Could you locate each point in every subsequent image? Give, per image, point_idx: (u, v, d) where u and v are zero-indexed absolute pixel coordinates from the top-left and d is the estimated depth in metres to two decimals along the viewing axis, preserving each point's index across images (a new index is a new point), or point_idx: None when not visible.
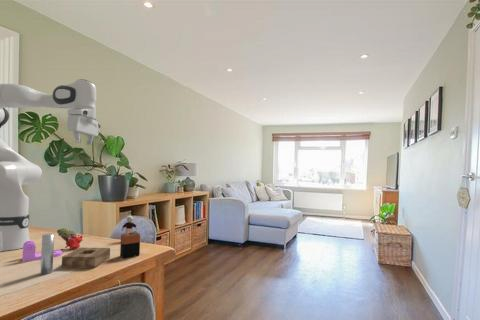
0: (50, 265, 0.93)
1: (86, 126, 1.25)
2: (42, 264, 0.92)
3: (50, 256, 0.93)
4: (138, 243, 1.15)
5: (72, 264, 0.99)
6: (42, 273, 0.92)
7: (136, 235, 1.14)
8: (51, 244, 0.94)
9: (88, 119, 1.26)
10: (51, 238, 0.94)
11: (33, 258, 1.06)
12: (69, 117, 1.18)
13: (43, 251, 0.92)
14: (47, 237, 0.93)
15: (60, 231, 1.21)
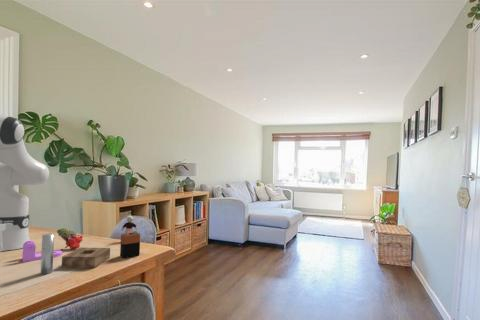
0: (50, 265, 0.93)
1: None
2: (42, 264, 0.92)
3: (50, 256, 0.93)
4: (138, 243, 1.15)
5: (72, 264, 0.99)
6: (42, 273, 0.92)
7: (136, 235, 1.14)
8: (51, 244, 0.94)
9: None
10: (51, 238, 0.94)
11: (33, 258, 1.06)
12: None
13: (43, 251, 0.92)
14: (47, 237, 0.93)
15: (60, 231, 1.21)
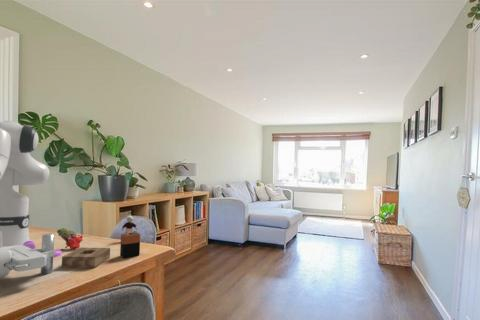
0: (50, 265, 0.93)
1: None
2: None
3: None
4: (138, 243, 1.15)
5: (72, 264, 0.99)
6: (42, 273, 0.92)
7: (136, 235, 1.14)
8: (51, 244, 0.94)
9: None
10: (51, 238, 0.94)
11: None
12: None
13: (43, 251, 0.92)
14: (47, 237, 0.93)
15: (60, 231, 1.21)
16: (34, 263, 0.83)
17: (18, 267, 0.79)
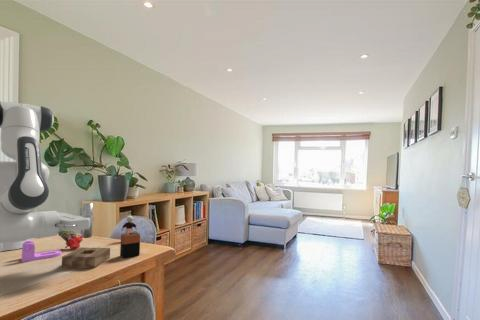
0: (90, 230, 1.05)
1: None
2: (83, 229, 1.04)
3: (90, 222, 1.05)
4: (138, 243, 1.15)
5: (72, 264, 0.99)
6: (83, 237, 1.03)
7: (136, 235, 1.14)
8: (91, 211, 1.05)
9: None
10: (91, 206, 1.05)
11: (32, 258, 1.06)
12: None
13: None
14: (88, 205, 1.04)
15: (60, 231, 1.21)
16: (80, 224, 0.94)
17: (68, 226, 0.90)
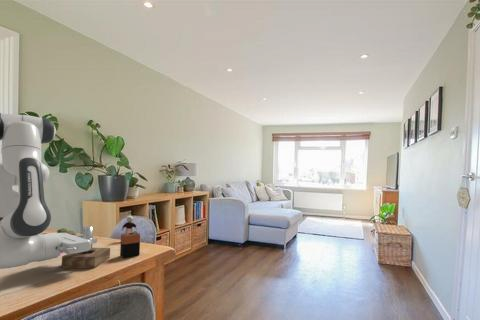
0: None
1: None
2: (83, 253, 1.04)
3: None
4: (138, 243, 1.15)
5: (72, 264, 0.99)
6: None
7: (136, 235, 1.14)
8: (91, 235, 1.05)
9: None
10: (91, 230, 1.05)
11: None
12: None
13: None
14: (87, 229, 1.04)
15: (60, 231, 1.21)
16: (81, 247, 0.94)
17: (69, 250, 0.90)
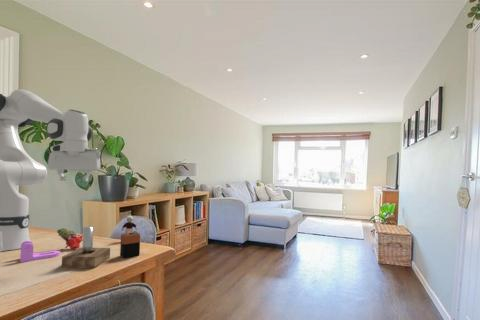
0: None
1: (67, 161, 1.13)
2: (84, 253, 1.03)
3: (90, 246, 1.05)
4: (138, 243, 1.15)
5: (72, 264, 0.99)
6: None
7: (136, 235, 1.14)
8: (91, 235, 1.05)
9: (67, 153, 1.12)
10: (91, 230, 1.05)
11: (31, 258, 1.06)
12: None
13: (84, 241, 1.04)
14: (88, 229, 1.04)
15: (60, 231, 1.21)
16: (98, 162, 1.15)
17: None
